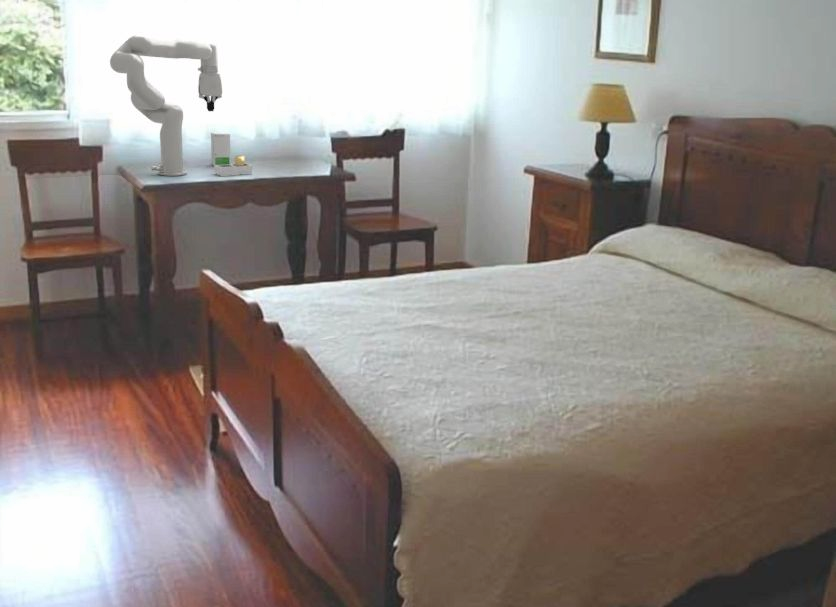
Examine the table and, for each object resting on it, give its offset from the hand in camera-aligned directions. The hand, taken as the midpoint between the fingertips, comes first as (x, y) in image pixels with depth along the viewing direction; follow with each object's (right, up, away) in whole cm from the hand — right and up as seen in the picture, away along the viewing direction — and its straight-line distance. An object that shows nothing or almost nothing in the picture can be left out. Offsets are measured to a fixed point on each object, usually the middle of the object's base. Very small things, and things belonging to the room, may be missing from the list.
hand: (210, 110), depth 432 cm
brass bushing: (+14, -30, -4) cm, 33 cm away
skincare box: (+1, -23, +19) cm, 30 cm away
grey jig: (+11, -30, -5) cm, 33 cm away
